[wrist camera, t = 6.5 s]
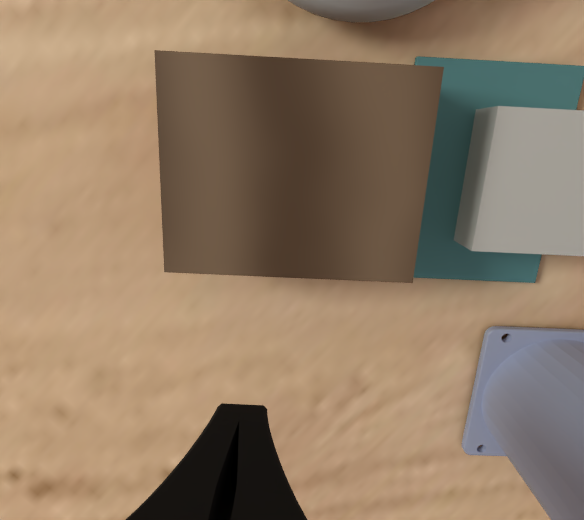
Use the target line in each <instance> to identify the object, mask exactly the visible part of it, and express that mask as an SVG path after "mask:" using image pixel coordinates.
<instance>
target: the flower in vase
mask: <svg viewBox="0 0 584 520" xmlns="http://www.w3.org/2000/svg"><path fill="white" fill-rule="evenodd" d="M288 1H290V2H291V3H293V4H294V5H296V6H298V7H300V8H302V9H304V10H307V11H309V12H311V13H313V14H316V15H319V16H322V17H326V18H329V19H333V20H339V21H346V22H375V21H382V20H388V19H392V18H396V17H399V16H402V15H405V14H409V13H411V12H413V11H415V10H417V9H419V8H422V7H424V6H426V5H428V4H429V3H431V2H433V1H434V0H288Z"/></svg>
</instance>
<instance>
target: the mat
mask: <svg viewBox="0 0 584 520" xmlns="http://www.w3.org/2000/svg"><path fill="white" fill-rule="evenodd" d="M415 65H420V66H437V67H444V70H443V77H442V84H441V91H440V98H439V105H438V111H437V118H436V125H435V132H434V139H433V146H432V153H431V160H430V167H429V173H428V180H427V187H426V194H425V201H424V208H423V215H422V222H421V229H420V236H419V242H418V249H417V256H416V263H415V270H414V277H415V278H438V279H461V280H483V281H506V282H529V283H535V281H536V276H537V272H538V268H539V264H540V260H541V255H542V254H524V253H502V252H480V251H471V250H469V249H467V248H466V247H464V246H462V245H461V244H459V243H457V242H456V241H454V235H455V229H456V223H457V217H458V211H459V206H460V200H461V194H462V188H463V182H464V176H465V170H466V165H467V159H468V153H469V147H470V141H471V135H472V129H473V123H474V118H475V112H476V109H482V108H488V107H495V106H510V107H528V108H546V109H565V110H576V109H577V104H578V100H579V96H580V92H581V88H582V83H583V79H584V66H575V65H557V64H540V63H522V62H505V61H488V60H470V59H453V58H436V57H416V58H415Z"/></svg>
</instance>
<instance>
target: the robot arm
mask: <svg viewBox="0 0 584 520" xmlns="http://www.w3.org/2000/svg"><path fill="white" fill-rule="evenodd" d="M504 334H508V335H507V337H506V338H504V339H501V338H502V336H503V335H504ZM480 445H482V446H481V447H478V446H480ZM462 448H463V450H464V451H465V453H466V454H469V455H487V456H507V457H508V458H509V460H510V461H511V463H512V464H513V465H514V467H515V468H516V470H517V471H518V473H519V474H520V476H521V477H522V478H523V480H524V481H525V483H526V484H527V486H528V487H529V488H530V490H531V491H532V493H533V494H534V496H535V497H536V499H537V500H538V501H539V503H540V504H541V506H542V507H543V509H544V510H545V512H546V513H547V514H548V516H549V517H550V519H551V520H584V330H580V329H556V328H531V327H507V326H492V327H490V328H488V329H487V330H486V332H485V334H484V338H483V343H482V348H481V353H480V358H479V362H478V367H477V372H476V377H475V382H474V387H473V391H472V396H471V401H470V406H469V411H468V415H467V420H466V425H465V430H464V435H463V439H462ZM126 520H307V518H306V517H305V515H304V513H303V511H302V509H301V507H300V505H299V504H298V502H297V500H296V498H295V496H294V494H293V491H292V489H291V487H290V485H289V483H288V480H287V478H286V476H285V473H284V471H283V468H282V466H281V463H280V461H279V458H278V455H277V452H276V449H275V446H274V443H273V440H272V436H271V432H270V428H269V424H268V417H267V409H266V408H265V407H264V406H262V405H241V404H221V405H219V406H218V407H217V409H216V411H215V413H214V415H213V416H212V418H211V420H210V421H209V423H208V424H207V426H206V428H205V429H204V430H203V432H202V433H201V435H200V436H199V438H198V439H197V440H196V442H195V443H194V444H193V446H192V447H191V449H190V450H189V451H188V453H187V454H186V455H185V457H184V458H183V459H182V460H181V461H180V463H179V464H178V465H177V466H176V467H175V469H174V470H173V471H172V472H171V473H170V475H169V476H168V477H167V478H166V479H165V480H164V482H163V483H162V484H161V485H160V486H159V487H158V488H157V489H156V490H155V491H154V492H153V493H152V495H151V496H150V497H149V498H148V499H147V500H146V501H145V502H144V503H143V504H142V505H141V506H140V507H139V508H138V509H137V510H136V511H134V512H133V513H132V514H131V515H130V516H129V517H128V518H127V519H126Z"/></svg>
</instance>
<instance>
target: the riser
mask: <svg viewBox="0 0 584 520" xmlns="http://www.w3.org/2000/svg"><path fill="white" fill-rule="evenodd" d="M155 69H156V92H157V115H158V137H159V160H160V182H161V205H162V228H163V250H164V272H173V273H196V274H219V275H242V276H265V277H288V278H312V279H335V280H358V281H381V282H404V283H413V277H414V270H415V263H416V256H417V249H418V242H419V236H420V229H421V222H422V215H423V208H424V201H425V194H426V187H427V180H428V173H429V167H430V160H431V153H432V146H433V139H434V132H435V125H436V118H437V111H438V105H439V98H440V91H441V84H442V77H443V70H444V67H437V66H420V65H402V64H385V63H367V62H350V61H332V60H315V59H297V58H279V57H262V56H244V55H227V54H209V53H192V52H174V51H157V50H155Z"/></svg>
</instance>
